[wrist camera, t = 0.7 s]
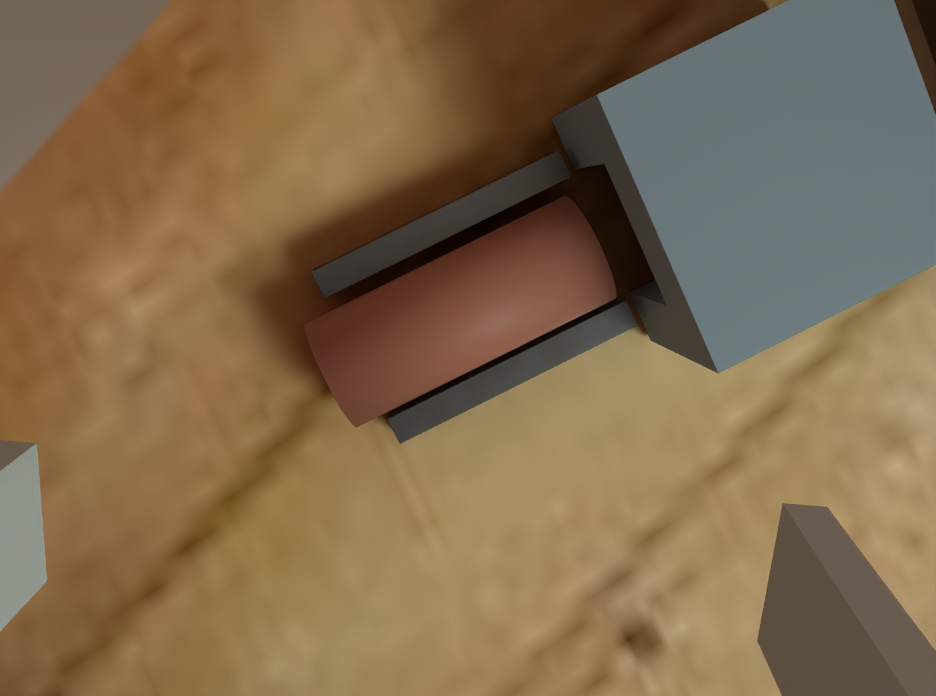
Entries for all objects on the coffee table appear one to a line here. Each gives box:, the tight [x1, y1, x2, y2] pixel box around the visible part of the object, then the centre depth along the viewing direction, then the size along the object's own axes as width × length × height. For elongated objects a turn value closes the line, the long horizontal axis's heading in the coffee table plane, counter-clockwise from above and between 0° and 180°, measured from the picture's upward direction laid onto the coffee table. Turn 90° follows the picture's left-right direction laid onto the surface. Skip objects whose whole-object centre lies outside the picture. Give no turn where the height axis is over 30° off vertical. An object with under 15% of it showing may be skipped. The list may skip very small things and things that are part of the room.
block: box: [551, 0, 936, 373], centre depth 30 cm, size 9×9×7 cm
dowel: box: [304, 196, 616, 427], centre depth 31 cm, size 10×4×4 cm, turn 116°
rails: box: [311, 150, 637, 443], centre depth 32 cm, size 10×7×2 cm
